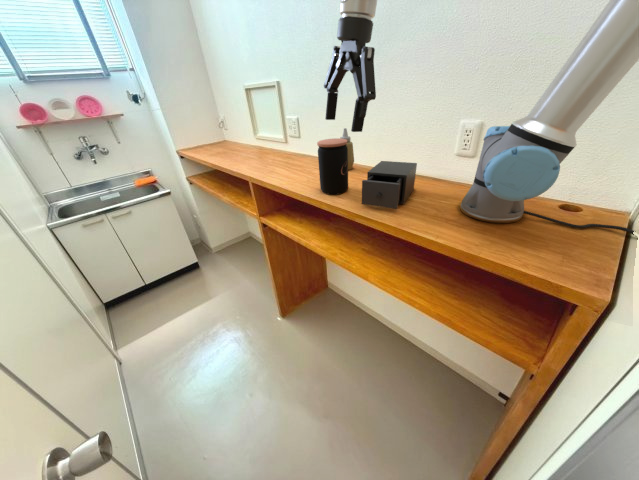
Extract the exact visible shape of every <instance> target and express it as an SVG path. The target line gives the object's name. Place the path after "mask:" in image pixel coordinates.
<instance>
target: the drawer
mask: <svg viewBox="0 0 639 480" xmlns="http://www.w3.org/2000/svg"><path fill="white" fill-rule="evenodd" d="M403 182H404V178H402V177H391V176H379V175H372V176H370V177H369V178H368V179H367V178H366V179H363V180H361V205H366V206H373V207H379V208H386V209H393V210H398V208H399V204H398V202H399V201H400V200H401V198H402V191H403Z"/></svg>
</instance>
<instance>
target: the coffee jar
mask: <svg viewBox="0 0 639 480" xmlns="http://www.w3.org/2000/svg"><path fill="white" fill-rule="evenodd" d="M347 142H348V141H347V140H346V139H340V138H338V137H336V138H334V137H333V138H325V139H321V140H319V141H318V140H317V143H316V144H317V146H318V148H317V160H318V161H317V162H318V174H319V175H318V176H319V187H320V191H321V192H322V193H323V194H325V195H329V196H336V195H342V194H345V193H346V192H347V190H348V188H349V170H348V148H347V146H346V145H347Z"/></svg>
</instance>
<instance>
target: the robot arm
mask: <svg viewBox="0 0 639 480" xmlns="http://www.w3.org/2000/svg"><path fill="white" fill-rule="evenodd" d="M377 5H378V0H340V5H339V14H340V16H341V17H340V18H338V23H337V33H336V38H337V40H338V41H341V45H333V48H332V53H331V58H330V62H329V66H328V68H327V72H326V75H325V79H324V83H323V89H326V93H327V99H326V108H325V109H326V110H325V120H326V121H335V120H336V116H337V115H336V114H337V106H338V96H339V87H340V85H341V83H342V81H343V80H344V78H345V76H346V73H348V72H350V73H351V74H352V77H353V82H354V86H355V90H356V95H357V98H356V99H355V103H354V110H353V117H352V123H351V130H350V131H351V132H352V133H362V132H363V129H364V123H365V118H366V115H367V110H368V105H369V102H370V101H374V100H376V97H377V89H376V76H375V62H374V61H375V60H374V59H375V51H376V49H375V47H372V46H366V44H369V43H370V42H371V40H372V34H373V28H374V22H373V19H374V18H375V16H376V11H377ZM638 61H639V0H609V1H608V2H607V4H606V5H605V6H604V8H603V9H602V10H601V12H600V14H599V15H598V16H597V18H596V19H595V20H594V22H593V23H592V24H591V26H590V27H589V29H588V30H587V32H586V33H585V35H584V36H583V37H582V38H581V40H580V41H579V43H578V44H577V46H575V48H574V49H573V51H572V53H571V54H570V55H569V57H568V58H567V59H566V61H565V63H564V64H563V65H562V66H561V68H560V69H559V71H558V72H557V74H556V75H555V76H554V78H553V79H552V80H551V82H550V83H549V84H548V86H547V88H546V89H545V90H544V92H543V93H542V95H540V97H539V99H538V100H537V101H536V102H535V104H534V106H533V107H532V108H531V110H530V111H529V113H528V114H527V115H525V116H524V117H521V118H519V119H516V120H514V121H512V123H511V124H510V125H499V126H498V125H495V126H494V125H493V126H490V127H489V128H488V129H486V132H485V136H484V137H483V143H482V148H481V152H480V156H479V159H478V163H477V167H476V171H475V174H474V179H473V183H472V184H471V186H470V188H469V189H468V191H467V192H466V194H465V196H464V197H463V198H462V200H461V203H460V207H459V210H460V211H461V212H462V213H463V214H464V215H466V216H467V217H469V218H471V219H474V220H476V221H477V220H478V221H481V222H486V223H491V224H511V223H516V222H519V221H520V220H521V219H522V217H523V215H524V214H525V215H527V216H532V217H536V218H538V219H542V220H545V221H549V222H552V223H554V224H559V225H562V226H566V227H570V228H574V229H588V228H602V229H611V230H618V231H623V232H626V233H629V234H630V235H633V236H634V234H633V232H634V231H635V230H633V229H631V228H628V227H623V226H620V225H619V226H618V225H611V224H601V223H587V224H583V225H581V224H575V223H574V224H573V223H570V222H567V221H563V220H559V219H555V218H551V217H550V216H549V217H548V216H545V215H543V214H539V213H535V212H531V211H527V210H525V201H527V200H531V199H534V198H536V197H539V196H541V195H542V194H544V193H545V192H547V191H548V190H550V189H551V188H552V187H553V185H554V184H555V183H556V181H557V180H558V178H559V174H560V172H561V164H562V162H563V161H564V160H565V159H566V158H567V157H568V156H569V155H570V153H571V152H572V151H573V150H574V149H575V148H576V146H577V139H576V133H577V132H578V131H579V130H580V128H581V127H582V126H583V125H584V123H586V122H587V120H588V119H589V118H590V117H591V115H593V114H594V112H595V111H596V110H597V108H599V106H601V104H602V103H603V102H604V100H605V99H606V98H607V97H608V96H609V95H610V93H611V92H612V91H614V89H615V88H616V87H617V86H618V84H619V83H620V82H621V81H622V80H623V79H624V77H626V75H627V74H629V72H630V71H631V69H632V68H633V67H634V66H635V65H636V64H637V62H638Z"/></svg>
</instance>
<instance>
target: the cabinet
mask: <svg viewBox="0 0 639 480" xmlns="http://www.w3.org/2000/svg"><path fill="white" fill-rule="evenodd" d="M417 166H418V163H417V162H407V161H405V162H404V161H390V160H380V162H378V163H377V164H375V165H374V166H373V167H372V168H371V169H369V170H368V171H367V175H366V176H367V178H366V180H367V179H368V178H369V177H370V176H372V175H379V176H391V177H402V178H404V182H403V191H402V198H401V200H400V201H399V202H398V205H405V204H406V202H407V200H408V199H409V197H410V196H411V194H412V193H413V191H414V190H415V182H416V174H417Z"/></svg>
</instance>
